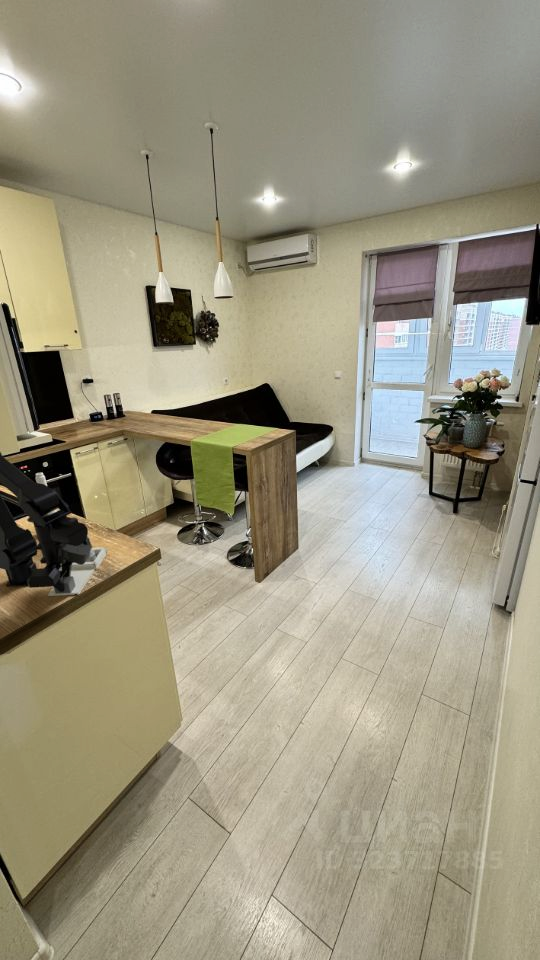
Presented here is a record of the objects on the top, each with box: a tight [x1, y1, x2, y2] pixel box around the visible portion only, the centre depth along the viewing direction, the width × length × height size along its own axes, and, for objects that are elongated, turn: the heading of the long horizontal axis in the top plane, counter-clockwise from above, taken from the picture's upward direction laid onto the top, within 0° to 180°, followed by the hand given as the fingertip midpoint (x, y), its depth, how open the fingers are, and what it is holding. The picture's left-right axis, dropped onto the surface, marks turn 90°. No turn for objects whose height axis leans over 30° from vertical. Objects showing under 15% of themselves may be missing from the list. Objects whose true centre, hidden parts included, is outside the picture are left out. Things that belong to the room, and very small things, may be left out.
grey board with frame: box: [47, 546, 108, 597], centre depth 110 cm, size 9×20×4 cm, turn 3°
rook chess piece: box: [86, 535, 97, 562], centre depth 116 cm, size 4×4×8 cm
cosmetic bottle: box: [35, 472, 58, 514], centre depth 131 cm, size 6×6×22 cm
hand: (65, 587), depth 102 cm, fingers closed on grey board with frame, 3 cm apart
